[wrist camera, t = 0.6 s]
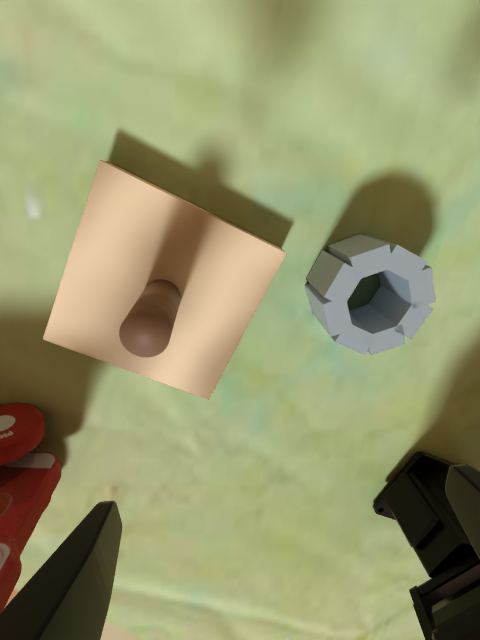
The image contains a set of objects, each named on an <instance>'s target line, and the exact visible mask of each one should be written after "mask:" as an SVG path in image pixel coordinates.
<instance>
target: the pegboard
mask: <svg viewBox="0 0 480 640" xmlns="http://www.w3.org/2000/svg"><path fill="white" fill-rule="evenodd" d="M286 254H287V253H286V252H285V251H284V250H283V249H281V248H280V247H278V246H276V245H274V244H272V243H270V242H268V241H266V240H264V239H262V238H260V237H258V236H256V235H254V234H252V233H250V232H248V231H246V230H244V229H242V228H240V227H238V226H236V225H234V224H232V223H230V222H228V221H226V220H224V219H222V218H220V217H218V216H216V215H214V214H212V213H210V212H208V211H206V210H204V209H202V208H200V207H198V206H196V205H194V204H192V203H190V202H188V201H186V200H184V199H182V198H180V197H178V196H176V195H174V194H172V193H170V192H168V191H166V190H164V189H162V188H160V187H158V186H156V185H154V184H152V183H150V182H148V181H146V180H144V179H142V178H140V177H138V176H136V175H134V174H132V173H130V172H128V171H126V170H124V169H122V168H120V167H118V166H116V165H114V164H112V163H110V162H106V161H102V160H100V161H99V164H98V167H97V170H96V173H95V176H94V179H93V183H92V186H91V189H90V192H89V195H88V198H87V201H86V205H85V208H84V211H83V214H82V217H81V220H80V223H79V227H78V230H77V233H76V236H75V239H74V242H73V245H72V249H71V252H70V255H69V258H68V261H67V264H66V267H65V271H64V274H63V277H62V280H61V283H60V286H59V290H58V293H57V296H56V299H55V302H54V305H53V308H52V312H51V315H50V318H49V321H48V324H47V327H46V330H45V334H44V337H43V340H46V341H49V342H51V343H54V344H57V345H60V346H62V347H65V348H68V349H71V350H73V351H76V352H79V353H82V354H84V355H87V356H90V357H93V358H95V359H98V360H101V361H104V362H106V363H109V364H112V365H115V366H117V367H120V368H123V369H126V370H129V371H131V372H134V373H137V374H140V375H142V376H145V377H148V378H151V379H153V380H156V381H159V382H162V383H164V384H167V385H170V386H173V387H175V388H178V389H181V390H184V391H186V392H189V393H192V394H195V395H197V396H200V397H203V398H206V399H209V398H210V396H211V394H212V392H213V391H214V389H215V387H216V385H217V383H218V381H219V379H220V377H221V376H222V374H223V372H224V370H225V368H226V366H227V364H228V362H229V361H230V359H231V357H232V355H233V353H234V351H235V349H236V347H237V346H238V344H239V342H240V340H241V338H242V336H243V334H244V332H245V331H246V329H247V327H248V325H249V323H250V321H251V319H252V317H253V316H254V314H255V312H256V310H257V308H258V306H259V304H260V302H261V301H262V299H263V297H264V295H265V293H266V291H267V289H268V287H269V286H270V284H271V282H272V280H273V278H274V276H275V274H276V272H277V271H278V269H279V267H280V265H281V263H282V261H283V259H284V257H285V256H286Z"/></svg>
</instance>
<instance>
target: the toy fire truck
mask: <svg viewBox="0 0 480 640" xmlns="http://www.w3.org/2000/svg"><path fill="white" fill-rule="evenodd" d="M44 432H45V428H44V421H43V416H42V413H41V412H40V410H39V409H37V408H36V407H34V406H31V405H28V404H6V405H1V406H0V613H1V612H2V610H3V609H4V607H5V605H6V603H7V601H8V599H9V597H10V595H11V593H12V591H13V589H14V587H15V585H16V583H17V581H18V579H19V577H20V573H21V565H22V564H21V561H20V555H21V553H22V551H23V549H24V547H25V545H26V543H27V541H28V540H29V538H30V536H31V534H32V532H33V530H34V528H35V526H36V524H37V523H38V521H39V519H40V517H41V515H42V513H43V512H44V510H45V509H46V508H47V506H48V504H49V502H50V500H51V495H52V493H53V491H54V490H55V488H56V486H57V484H58V482H59V480H60V478H61V468H60V464H59V460H58V458H57V456H56V455H54V454H52V453H48V452H45V453H43V452H31V451H32V450H33V449H34V448H36V447H37V446H38V445H39V443H40V442H41V440H42V439H43V436H44Z"/></svg>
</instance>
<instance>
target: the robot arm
mask: <svg viewBox="0 0 480 640" xmlns="http://www.w3.org/2000/svg"><path fill="white" fill-rule="evenodd" d="M373 509H374V511H375V513H376V514H379V515H382V516H385V517H388V518H391V519H394V520H397V522H398V524H399V526H400V528H401V530H402V531H403V533H404V535H405V537H406V539H407V541H408V542H409V544H410V546H411V547H413V548H414V550H415V552H416V554H417V556H418V558H419V559H420V561H421V563H422V565H423V567H424V568H425V570H426V572H427V574H428V576H429V577H430V578H431V579H430V580H428V581H426V582H425V583H423V584H421V585H420V586H418V587H417V586H414V587H413V588H411V589H410V590H409V591H410V594H411V597H412V600H413V603H414V604H413V606H414V609H415V612H416V614H417V617H418V620H419V623H420V626H421V629H422V631H423V634H424V637H425V640H480V472H479V471H478V470H476V469H474V468H472V467H471V466H469V465H466V464H461V465H456V464H453V463H451V462H448V461H445V460H443V459H440V458H438V457H435V456H432V455H430V454H427V453H425V452H418V453H416V454H415V455H414V456H413V457H412V458H411V460H410V461H409V462H408V463H407V465H406V466H405V467H404V468H403V469H402V471H401V472H400V473H399V474H398V475H397V477H396V478H395V479H394V480H393V481H392V483H391V484H390V485H389V486H388V488H387V489H386V490H385V491H384V492H383V494H382V495H381V496H380V497H379V498H378V500H377V501H376V502H375V503H374V505H373ZM121 534H122V522H121V518H120V514H119V511H118V507H117V504H116V502H115V501H104V502H99V503H98V504H97V505H96V506H95V507H94V508H93V509H92V510H91V511H90V513H89V514H88V515H87V516H86V517H85V518H84V519H83V520H82V522H81V523H80V524H79V525H78V526H77V527H76V528H75V529H74V531H73V532H72V533H71V534H70V535H69V536H68V537H67V538H66V540H65V541H64V542H63V543H62V544H61V545H60V546H59V547H58V549H57V550H56V551H55V552H54V553H53V554H52V555H51V556H50V558H49V559H48V560H47V561H46V562H45V563H44V564H43V565H42V567H41V568H40V569H39V570H38V571H37V572H36V573H35V574H34V576H33V577H32V578H31V579H30V580H29V581H28V582H27V583H26V585H25V586H24V587H23V588H22V589H21V590H20V591H19V593H18V594H17V595H16V596H15V597H14V598H13V599H12V600H11V602H10V603H9V604H8V605H7V606H6V607H5V608H4V609H3V611H2V612H1V613H0V640H100V638H101V635H102V631H103V627H104V623H105V619H106V616H107V612H108V608H109V603H110V599H111V594H112V588H113V582H114V576H115V570H116V564H117V558H118V552H119V546H120V540H121Z"/></svg>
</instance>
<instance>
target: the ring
mask: <svg viewBox="0 0 480 640" xmlns="http://www.w3.org/2000/svg"><path fill="white" fill-rule="evenodd" d="M328 249H329V253H330V254H329V253H327V252H325V251H323V250H322V251H321V253H320V255H319V257H318V258H317V260H316V262H315V264H314V265H313V267H312V269H311V271H310V273H309V274H308V276H307V278H306V280H307V281H308V282H309V283H310V284H307V285H305V288H306V291H307V295H308V298H309V302H310V306H311V309H312V313H313V314H314V316H315V317H316V318H317V320H318V321H319V322H320V323H321V325H322V326H323V327H324V329H325V330H326V331H327V332H328V334H329V335H330V336H331V337H332V338H333V340H334V341H335V342H337V343H339V344H341V345H344V346H346V347H348V348H350V349H353V350H355V351H357V352H359V353H362V354H364V355H365V353H366V352H367V351H368V352H369V353H370V354H371V355H373V354H376V353H379V352H382V351H385V350H388V349H391V348H394V347H397V346H400V345H403V344H405V338H404V336H406V337H408V338H410V339H412V338H413V336H414V335H415V334H416V332H417V331H418V329H419V328H420V327H421V325H422V324H423V323H424V321H425V320H426V318H427V317H428V316H429V314H430V313H431V311H432V310H433V308H431V307H429V306H428V305H427V304H430V303H433V302H435V293H434V284H433V276H432V267H429V266H427V265H426V263H427V262H428V261H426V260H424V259H422V258H421V257H419V256H417V255H415V254H413V253H412V252H410V251H408V250H406V249H404V248H402V247H401V246H399V245H397V244H394V243H391V242H388V241H384V240H381V239H378V238H375V237H372V236H369V235H365V236H363V235H360V234H359V235H356V236H353V237H350V238H347V239H344V240H342V241H339V242H336V243H333V244H330V245H328ZM376 273H378V275H379V280H380V287H379V289H378V290H377V292H376V293H375V295H374V296H373V298H372V299H371V301H370V302H369V304H368V305H365V306H362V307H359V308H356V309H353V310H350V311H349V309H348V305H347V301H348V299H349V297H350V296H351V294H352V293H353V291H354V289H355V288H356V286H357V285H358V283H359V281H360V280H361V278H364V277H367V276H370V275H373V274H376Z"/></svg>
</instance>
